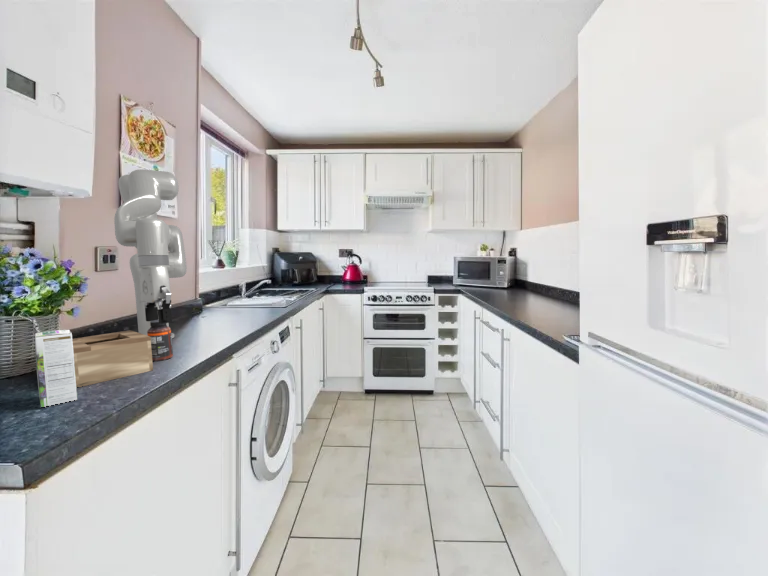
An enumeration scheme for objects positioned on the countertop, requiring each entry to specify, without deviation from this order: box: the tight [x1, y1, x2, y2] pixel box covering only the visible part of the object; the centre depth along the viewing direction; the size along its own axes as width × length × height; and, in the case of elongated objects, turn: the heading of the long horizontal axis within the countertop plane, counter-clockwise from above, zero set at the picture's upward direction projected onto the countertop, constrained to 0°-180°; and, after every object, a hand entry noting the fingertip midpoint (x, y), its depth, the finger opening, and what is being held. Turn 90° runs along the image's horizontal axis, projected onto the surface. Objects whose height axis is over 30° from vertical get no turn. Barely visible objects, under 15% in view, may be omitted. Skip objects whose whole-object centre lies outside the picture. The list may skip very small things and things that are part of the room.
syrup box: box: [34, 329, 78, 408], centre depth 77 cm, size 6×6×14 cm
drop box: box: [72, 329, 154, 389], centre depth 95 cm, size 15×16×9 cm
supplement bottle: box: [147, 320, 174, 362], centre depth 108 cm, size 6×6×11 cm
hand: (158, 321), depth 107 cm, fingers open, 9 cm apart
